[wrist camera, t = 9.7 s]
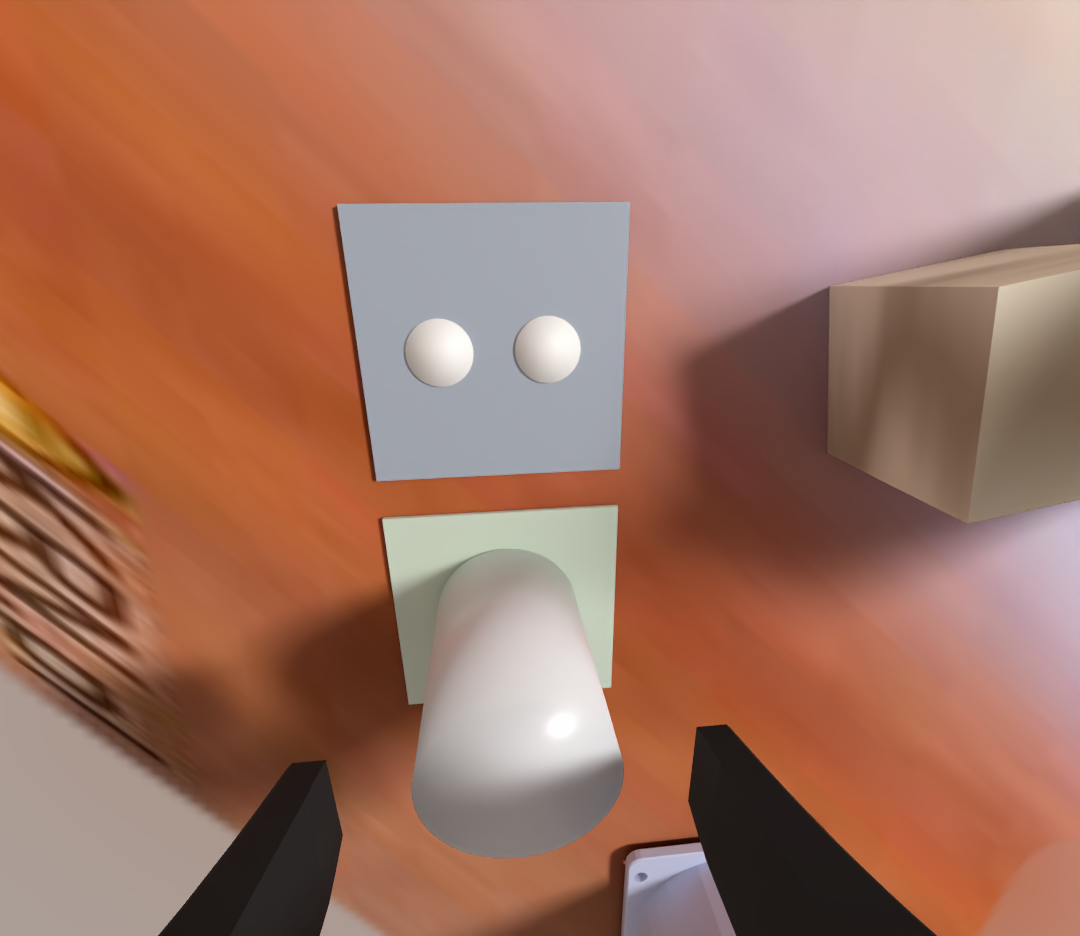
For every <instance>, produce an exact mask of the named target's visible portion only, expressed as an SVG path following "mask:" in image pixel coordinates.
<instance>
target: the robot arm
mask: <svg viewBox="0 0 1080 936" xmlns="http://www.w3.org/2000/svg"><path fill="white" fill-rule="evenodd" d="M688 801H689V805H690V808H691V812H692V815H693V819H694V822H695V826H696V829H697V832H698V836H699V839H700V842H699V843H690V844H681V845H672V846H663V847H654V848H645V849H638V850H634V851H632V852H630V854H629V855H628V856H627V858H626V865H625V881H624V897H623V913H622V929H621V936H937V935H936V934H934V933H933V932H932V931H931V930H930V929H929V928H928V927H926V926H925V925H924V924H923V923H922V922H921V921H920V920H919V919H918V918H916V917H915V916H914V915H913V914H912V913H911V912H910V911H909V910H908V909H906V908H905V907H904V906H903V905H902V904H901V903H900V902H899V901H898V900H897V899H896V898H895V897H893V896H892V895H891V894H890V893H889V892H888V891H887V890H886V889H885V888H884V887H883V886H882V885H881V884H880V883H879V882H878V881H876V880H875V879H874V878H873V877H872V876H871V875H870V874H869V873H868V872H867V871H866V870H865V869H864V868H863V867H862V866H861V865H860V864H859V863H858V862H857V861H856V860H855V859H854V858H853V857H852V856H850V855H849V854H848V853H847V852H846V851H845V850H844V849H843V848H842V847H841V846H840V845H839V844H838V843H837V842H836V841H835V840H834V839H833V838H832V837H831V836H830V835H829V833H828V832H827V831H826V830H825V829H824V828H823V827H822V826H821V825H820V824H819V823H818V822H817V821H816V820H815V819H814V818H813V817H812V816H811V815H810V814H809V813H808V812H807V811H806V810H805V809H804V808H803V807H802V806H801V805H800V804H799V803H798V802H797V800H796V799H795V798H794V797H793V796H792V795H791V794H790V793H789V792H788V791H787V790H786V789H785V788H784V787H783V786H782V784H781V783H780V782H779V781H778V780H777V779H776V778H775V777H774V776H773V775H772V774H771V773H770V771H769V770H768V769H767V768H766V767H765V766H764V765H763V764H762V763H761V762H760V760H759V759H758V758H757V757H756V756H755V755H754V754H753V753H752V752H751V750H750V749H749V748H748V747H747V746H746V745H745V744H744V743H743V741H742V740H741V739H740V738H739V737H738V736H737V735H736V734H735V733H734V731H733V730H732V729H731V728H730V727H729V726H728V725H715V726H704V727H697V730H696V738H695V747H694V756H693V764H692V773H691V782H690V790H689V799H688ZM342 836H343V835H342V830H341V826H340V821H339V817H338V812H337V808H336V804H335V799H334V795H333V790H332V786H331V781H330V777H329V772H328V768H327V764H326V760H323V761H312V762H301V763H292V764H291V765H290V766H289V767H288V768H287V770H286V771H285V772H284V774H283V775H282V777H281V778H280V779H279V781H278V782H277V783H276V785H275V786H274V787H273V789H272V790H271V792H270V793H269V794H268V796H267V797H266V798H265V800H264V801H263V802H262V804H261V805H260V806H259V808H258V809H257V811H256V812H255V813H254V815H253V816H252V817H251V819H250V820H249V821H248V823H247V824H246V825H245V827H244V828H243V829H242V831H241V832H240V833H239V835H238V836H237V837H236V839H235V840H234V841H233V842H232V844H231V845H230V847H229V848H228V849H227V851H226V852H225V853H224V854H223V855H222V857H221V858H220V859H219V861H218V862H217V863H216V864H215V866H214V867H213V868H212V870H211V871H210V872H209V873H208V875H207V876H206V877H205V878H204V880H203V881H202V882H201V884H200V885H199V886H198V887H197V889H196V890H195V891H194V893H193V894H192V895H191V896H190V898H189V899H188V900H187V901H186V903H185V904H184V905H183V906H182V908H181V909H180V910H179V911H178V913H177V914H176V915H175V916H174V917H173V919H172V920H171V921H170V922H169V923H168V925H167V926H166V927H165V928H164V929H163V931H162V932H161V933H160V934H159V935H158V936H320V933H321V929H322V926H323V922H324V918H325V915H326V912H327V909H328V905H329V901H330V896H331V892H332V887H333V882H334V877H335V872H336V867H337V862H338V857H339V852H340V846H341V841H342Z"/></svg>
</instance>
